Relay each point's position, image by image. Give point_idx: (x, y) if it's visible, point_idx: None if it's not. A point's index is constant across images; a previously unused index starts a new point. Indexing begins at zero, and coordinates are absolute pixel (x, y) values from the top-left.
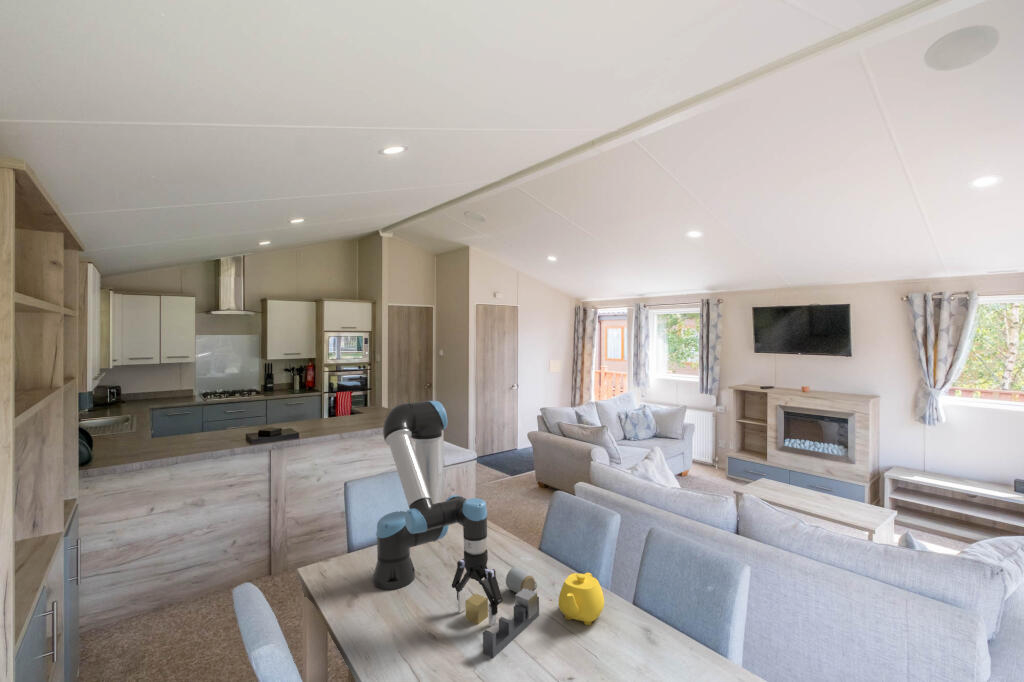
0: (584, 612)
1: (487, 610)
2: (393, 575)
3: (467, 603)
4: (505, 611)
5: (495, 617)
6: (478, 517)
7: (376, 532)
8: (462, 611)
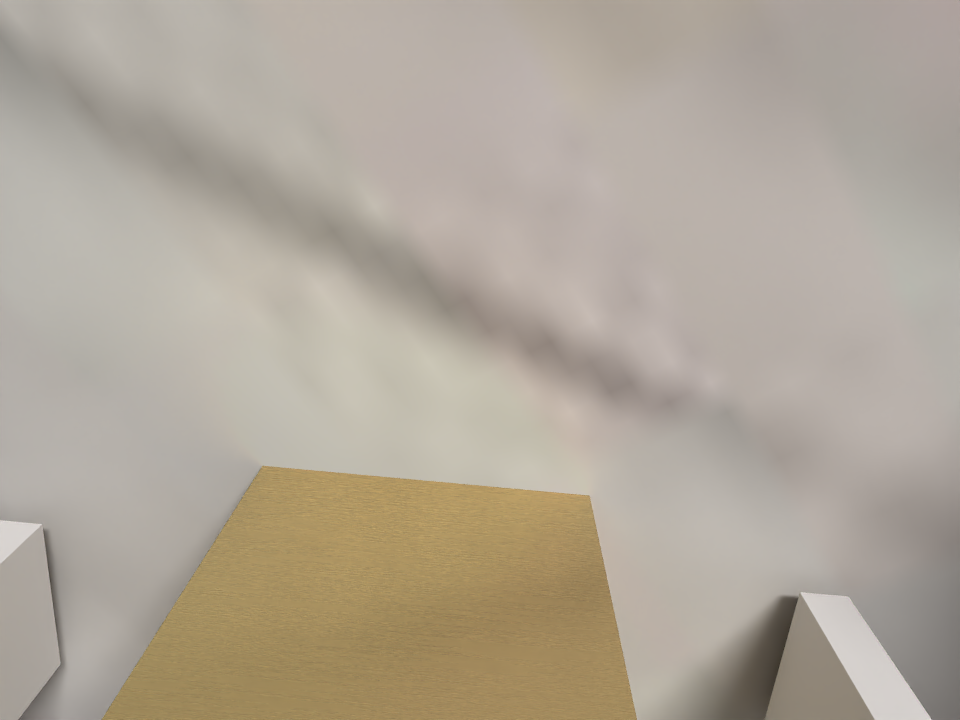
0: None
1: (604, 593)
2: None
3: None
4: (877, 150)
5: (892, 684)
6: None
7: None
8: (53, 614)
